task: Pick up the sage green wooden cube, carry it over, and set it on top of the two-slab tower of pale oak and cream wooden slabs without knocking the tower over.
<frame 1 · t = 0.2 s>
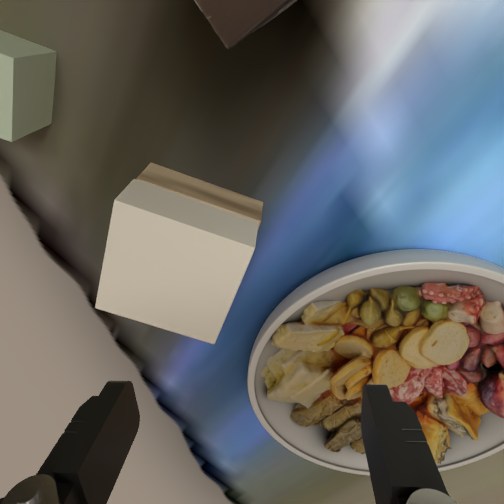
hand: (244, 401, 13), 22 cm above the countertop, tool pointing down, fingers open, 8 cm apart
tower top: (181, 252, 32), point 4 cm above the countertop, touching tower base
tower base: (193, 229, 36), on the countertop, touching tower top
bowl: (387, 352, 42), on the countertop
sage cube: (18, 75, 30), on the countertop
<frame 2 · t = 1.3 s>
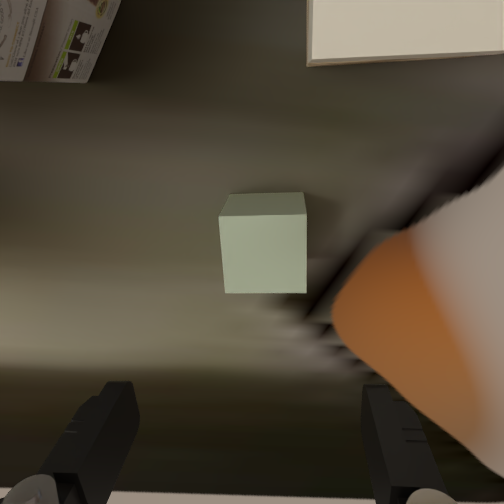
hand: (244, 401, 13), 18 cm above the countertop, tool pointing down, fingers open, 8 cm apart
coffee box: (44, 0, 25), on the countertop
sage cube: (267, 227, 30), on the countertop
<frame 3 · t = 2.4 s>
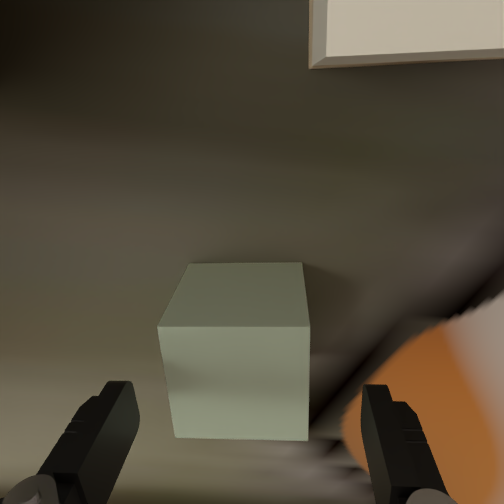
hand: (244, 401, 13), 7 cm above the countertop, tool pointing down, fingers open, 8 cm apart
sage cube: (247, 310, 20), on the countertop
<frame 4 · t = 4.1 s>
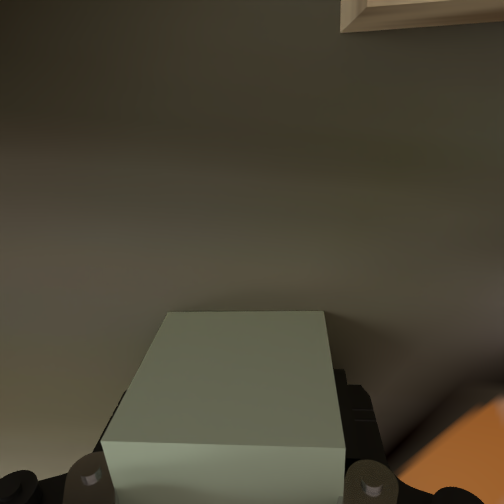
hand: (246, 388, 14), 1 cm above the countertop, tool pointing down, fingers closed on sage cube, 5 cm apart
sage cube: (249, 373, 15), on the countertop, touching gripper
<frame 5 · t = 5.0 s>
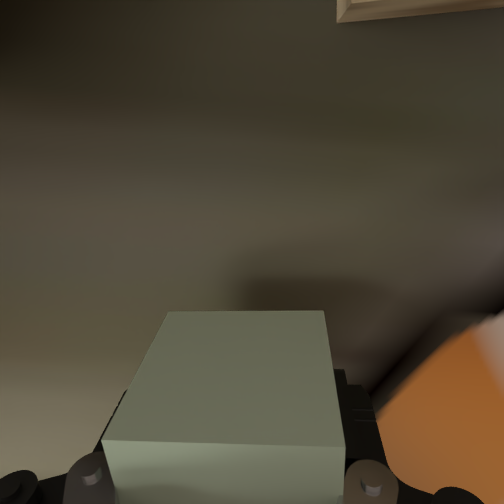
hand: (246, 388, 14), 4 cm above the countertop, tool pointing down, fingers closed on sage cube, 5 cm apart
sage cube: (249, 373, 15), point 4 cm above the countertop, touching gripper
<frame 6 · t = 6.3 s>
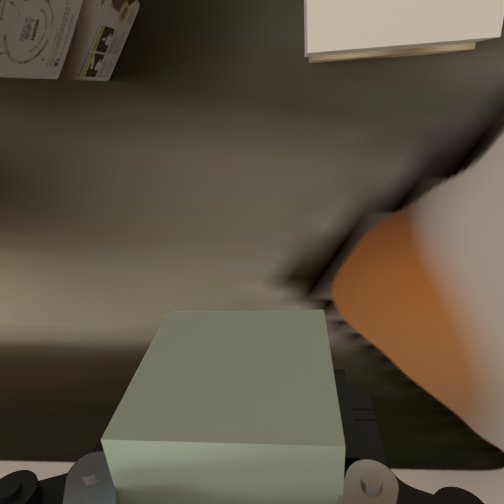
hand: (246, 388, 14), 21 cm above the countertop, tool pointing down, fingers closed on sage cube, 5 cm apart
coffee box: (71, 7, 28), on the countertop
sage cube: (249, 372, 15), point 20 cm above the countertop, touching gripper
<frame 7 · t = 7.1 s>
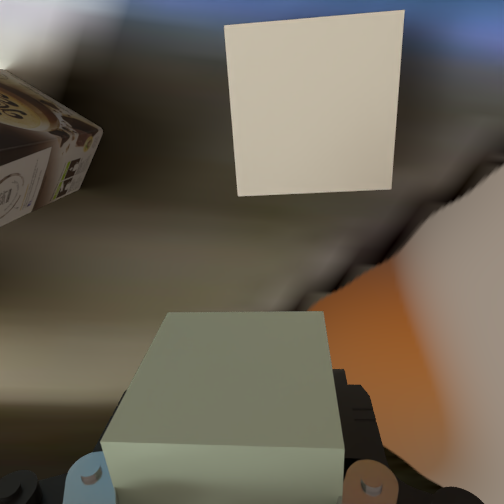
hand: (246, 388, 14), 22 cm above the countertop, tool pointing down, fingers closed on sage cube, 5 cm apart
coffee box: (44, 131, 33), on the countertop
tower top: (308, 109, 27), point 4 cm above the countertop, touching tower base
sage cube: (248, 373, 15), point 21 cm above the countertop, touching gripper
when the fingers open (10 cm above the countertop, at t = 10.7 s): sage cube drops 2 cm, resting on tower top.
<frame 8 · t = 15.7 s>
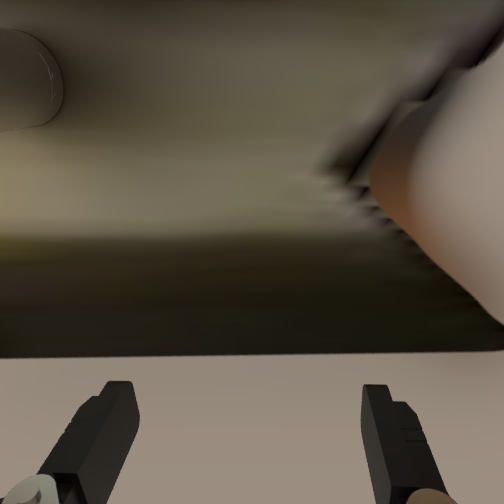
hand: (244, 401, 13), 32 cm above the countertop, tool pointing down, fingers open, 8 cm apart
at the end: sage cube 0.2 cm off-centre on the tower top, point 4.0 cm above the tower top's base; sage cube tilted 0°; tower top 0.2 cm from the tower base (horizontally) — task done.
